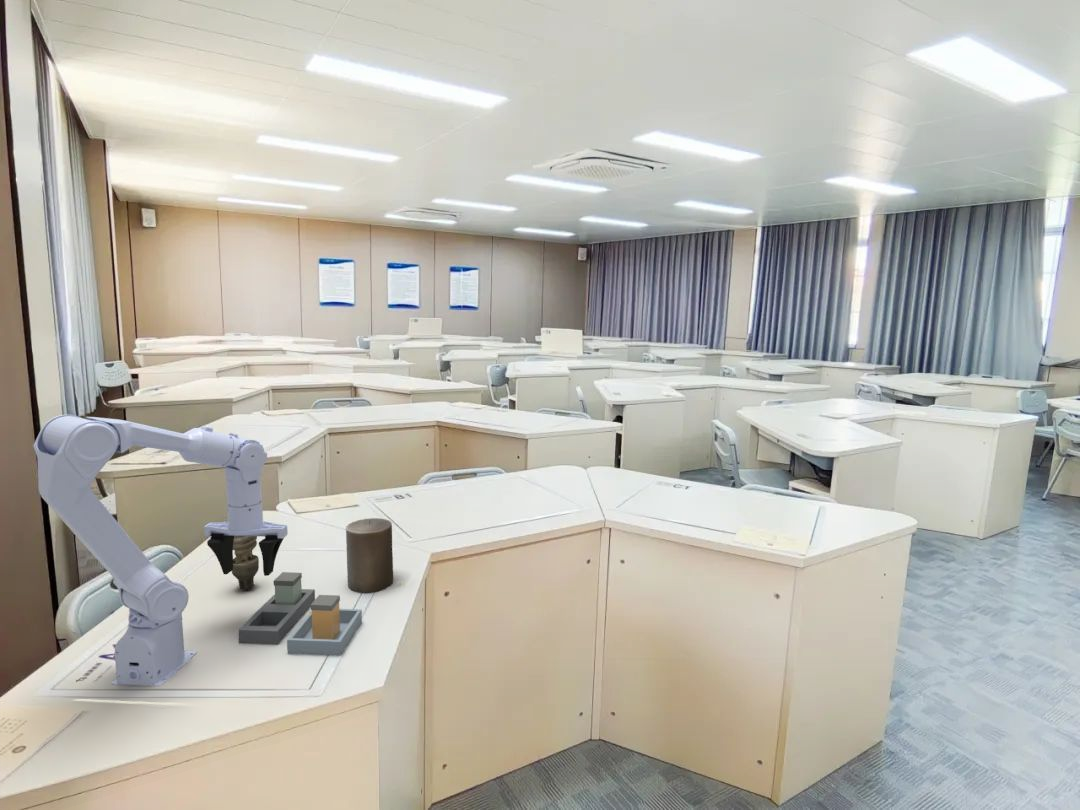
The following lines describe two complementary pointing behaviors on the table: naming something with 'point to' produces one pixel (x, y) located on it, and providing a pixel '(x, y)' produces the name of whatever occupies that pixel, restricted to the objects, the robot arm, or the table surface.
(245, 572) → the light bulb
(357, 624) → the parts tray
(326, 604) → the block
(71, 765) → the table surface
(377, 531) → the pillar candle
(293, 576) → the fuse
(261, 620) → the block
